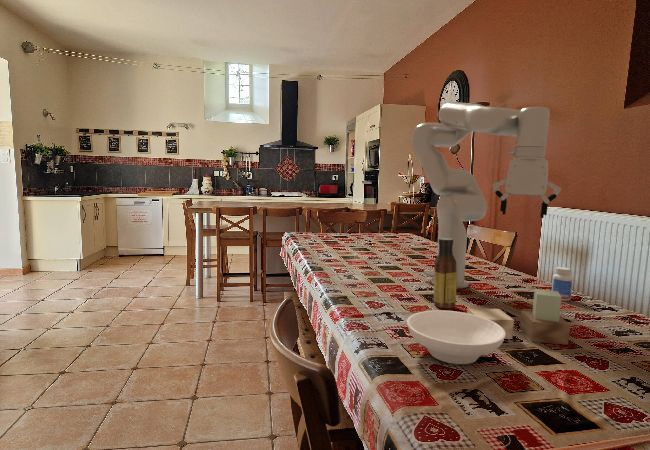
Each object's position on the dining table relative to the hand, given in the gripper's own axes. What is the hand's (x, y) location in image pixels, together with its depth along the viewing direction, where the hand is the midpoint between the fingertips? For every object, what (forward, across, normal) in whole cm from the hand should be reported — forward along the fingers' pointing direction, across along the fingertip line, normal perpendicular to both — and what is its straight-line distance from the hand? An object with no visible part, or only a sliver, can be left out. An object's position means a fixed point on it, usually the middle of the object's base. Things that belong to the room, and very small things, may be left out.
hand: (522, 215), depth 116 cm
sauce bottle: (+28, -18, -8) cm, 34 cm away
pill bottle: (+27, +14, +18) cm, 36 cm away
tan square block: (+27, +7, -20) cm, 34 cm away
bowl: (+26, -10, -42) cm, 51 cm away
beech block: (+27, -4, -24) cm, 36 cm away
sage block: (+22, +7, -20) cm, 30 cm away
